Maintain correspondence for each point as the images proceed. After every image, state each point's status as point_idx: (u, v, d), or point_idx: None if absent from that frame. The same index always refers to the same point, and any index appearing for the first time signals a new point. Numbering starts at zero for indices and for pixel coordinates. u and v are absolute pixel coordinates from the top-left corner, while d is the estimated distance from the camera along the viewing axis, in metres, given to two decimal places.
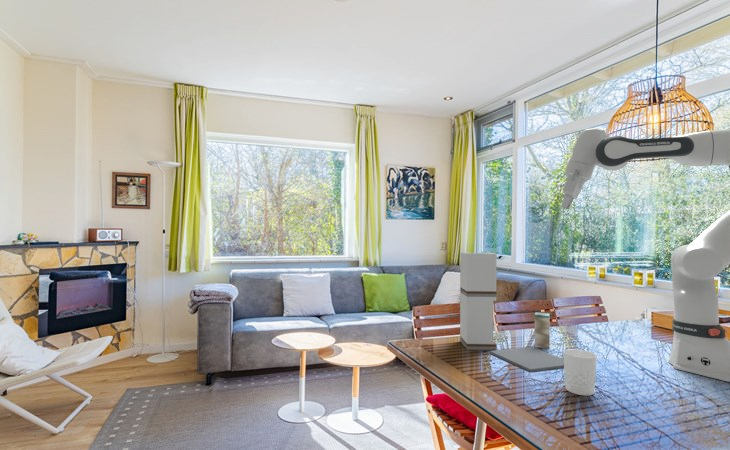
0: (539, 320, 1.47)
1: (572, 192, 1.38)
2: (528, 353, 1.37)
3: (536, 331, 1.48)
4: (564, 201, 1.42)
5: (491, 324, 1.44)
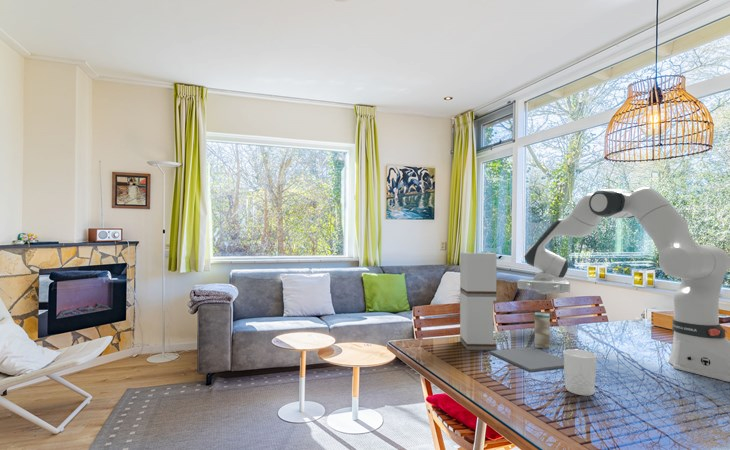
0: (539, 320, 1.47)
1: (518, 281, 1.70)
2: (528, 353, 1.37)
3: (536, 331, 1.48)
4: (528, 287, 1.65)
5: (491, 324, 1.44)
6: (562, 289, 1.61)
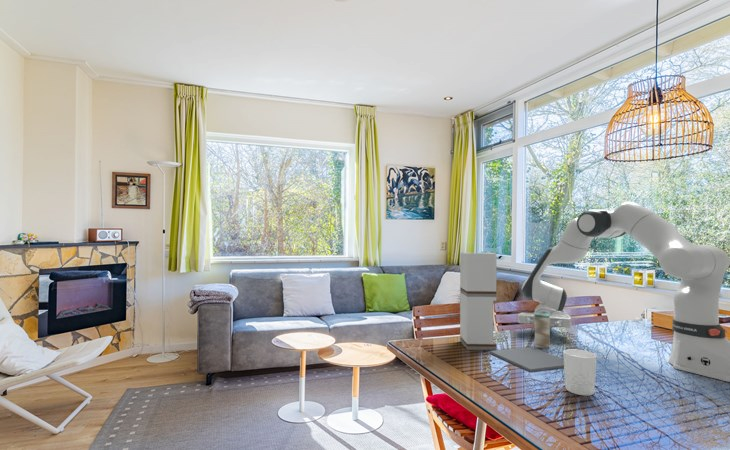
0: (539, 320, 1.47)
1: (518, 315, 1.66)
2: (528, 353, 1.37)
3: (536, 331, 1.48)
4: (528, 322, 1.61)
5: (491, 324, 1.44)
6: (563, 324, 1.58)
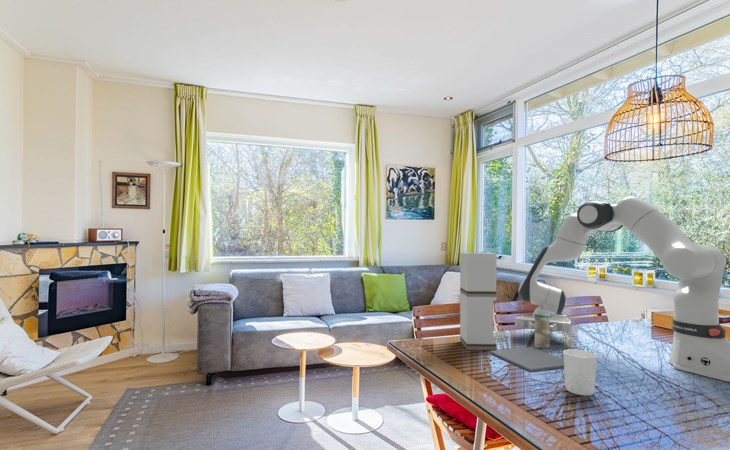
0: (539, 320, 1.47)
1: (515, 319, 1.58)
2: (528, 353, 1.37)
3: (536, 331, 1.48)
4: (530, 326, 1.52)
5: (491, 324, 1.44)
6: (563, 329, 1.49)
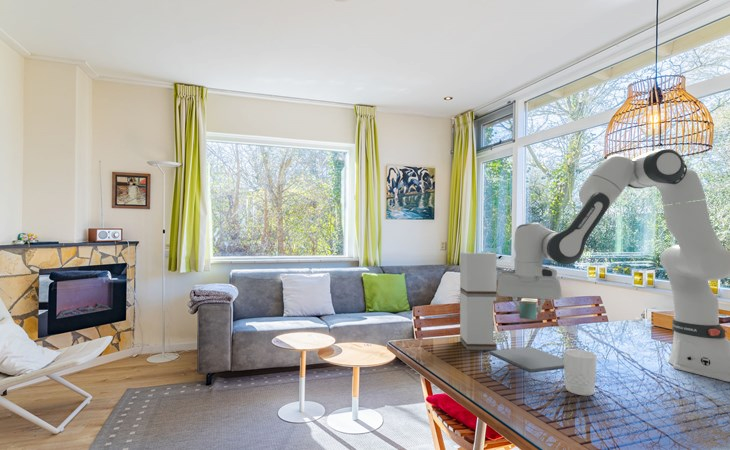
0: None
1: (497, 293, 1.37)
2: (528, 353, 1.37)
3: None
4: None
5: (491, 324, 1.44)
6: None
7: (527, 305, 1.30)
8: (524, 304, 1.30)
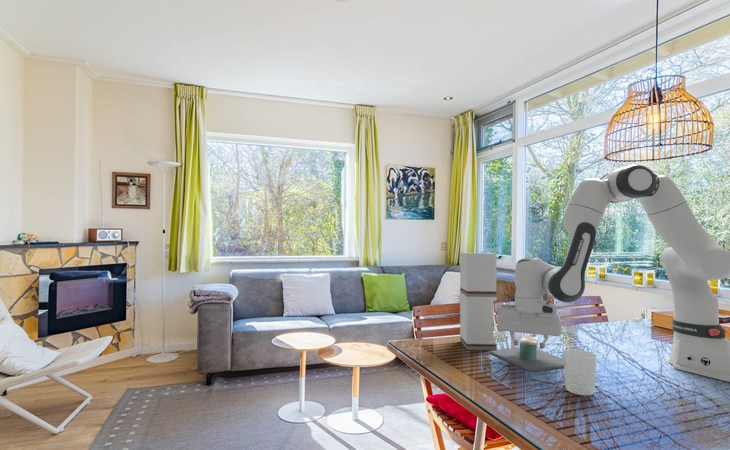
0: None
1: (498, 327, 1.37)
2: None
3: None
4: None
5: (491, 324, 1.44)
6: None
7: (528, 346, 1.29)
8: (525, 345, 1.30)
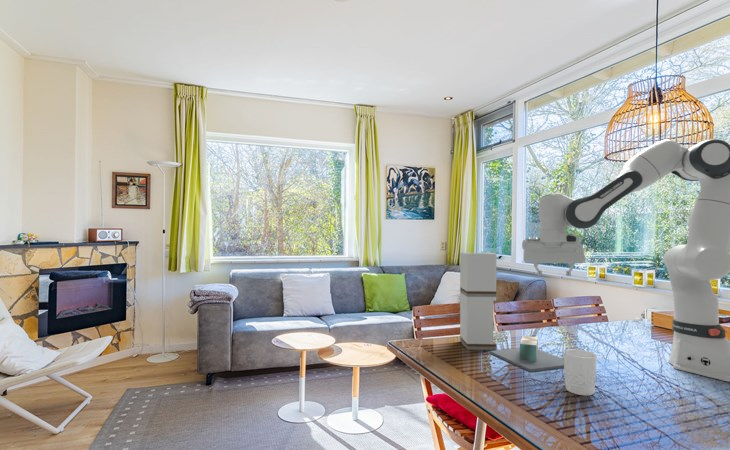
0: None
1: (524, 260, 1.47)
2: None
3: None
4: None
5: (491, 324, 1.44)
6: None
7: (528, 346, 1.29)
8: (525, 345, 1.30)
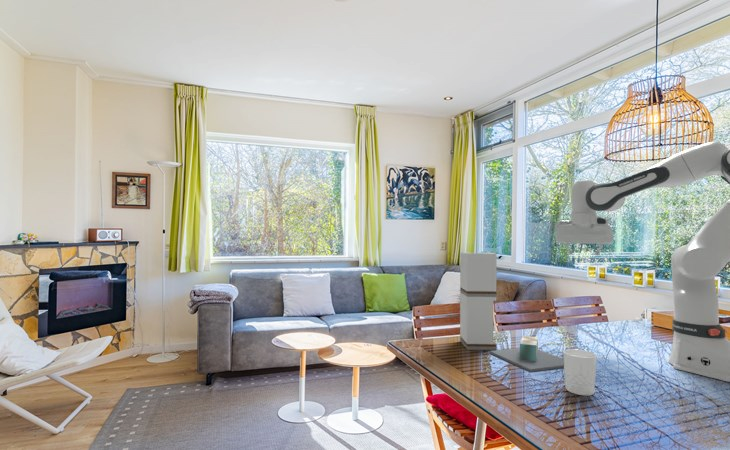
0: None
1: (556, 241, 1.61)
2: None
3: None
4: None
5: (491, 324, 1.44)
6: None
7: (528, 346, 1.29)
8: (525, 345, 1.30)
